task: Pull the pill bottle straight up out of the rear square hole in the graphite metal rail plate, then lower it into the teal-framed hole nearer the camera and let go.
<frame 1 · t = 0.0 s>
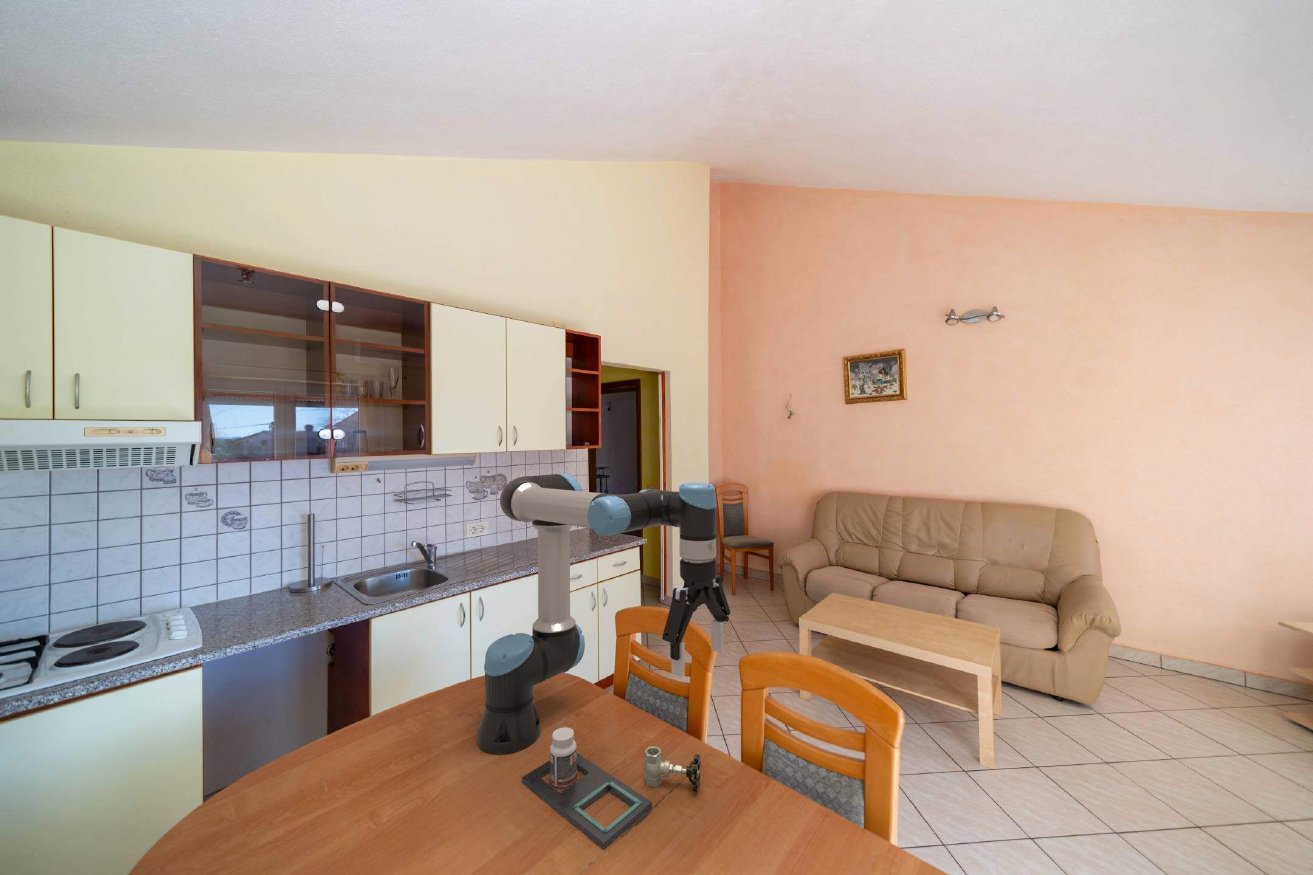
hand: (698, 662, 98), 28 cm above the table, tool pointing down, fingers open, 13 cm apart
valve: (671, 785, 102), on the table
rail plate: (584, 794, 99), on the table
pill bottle: (563, 780, 104), resting in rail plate
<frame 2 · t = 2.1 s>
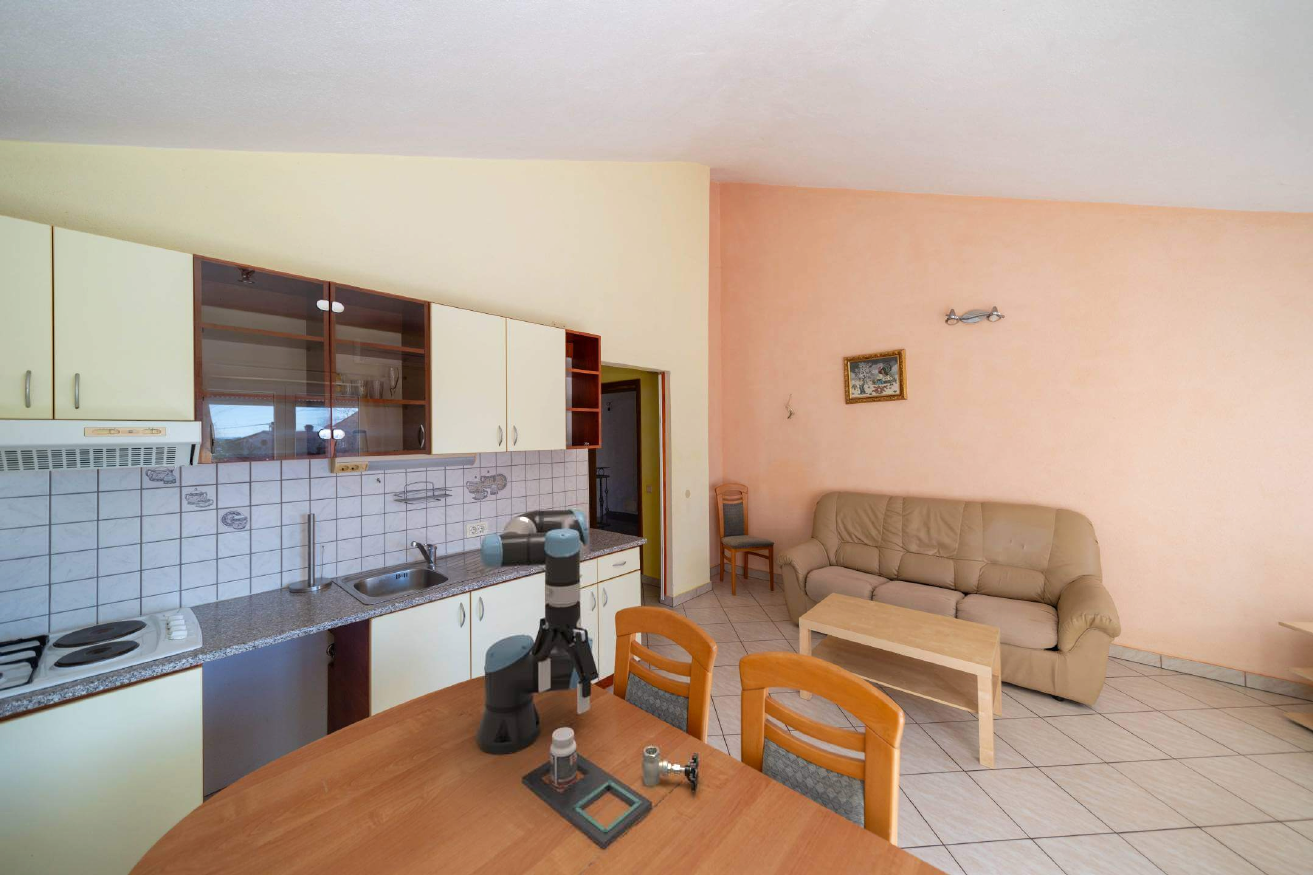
hand: (563, 699, 104), 17 cm above the table, tool pointing down, fingers open, 13 cm apart
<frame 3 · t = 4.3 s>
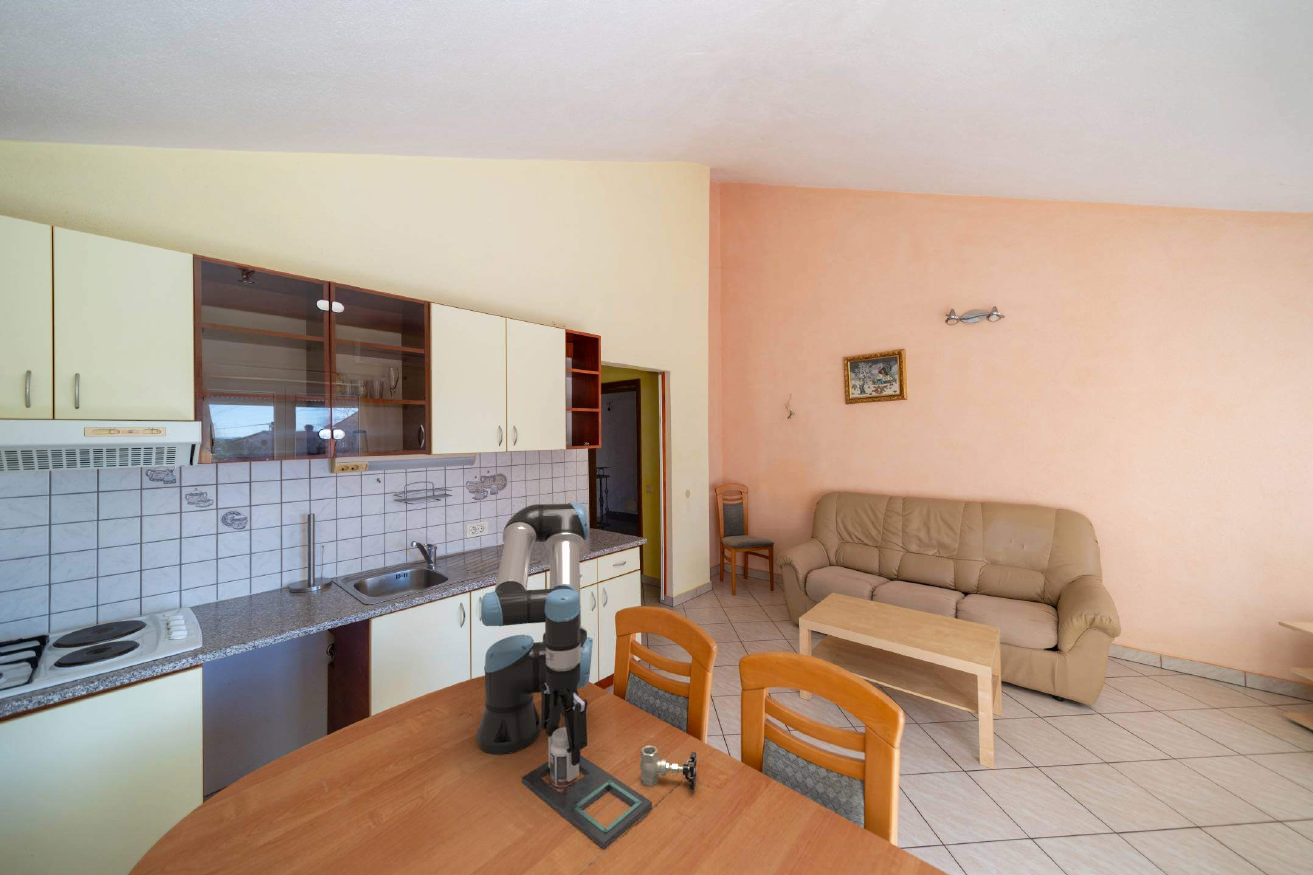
hand: (563, 770, 104), 2 cm above the table, tool pointing down, fingers closed on pill bottle, 6 cm apart
pill bottle: (563, 780, 104), resting in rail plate, touching gripper
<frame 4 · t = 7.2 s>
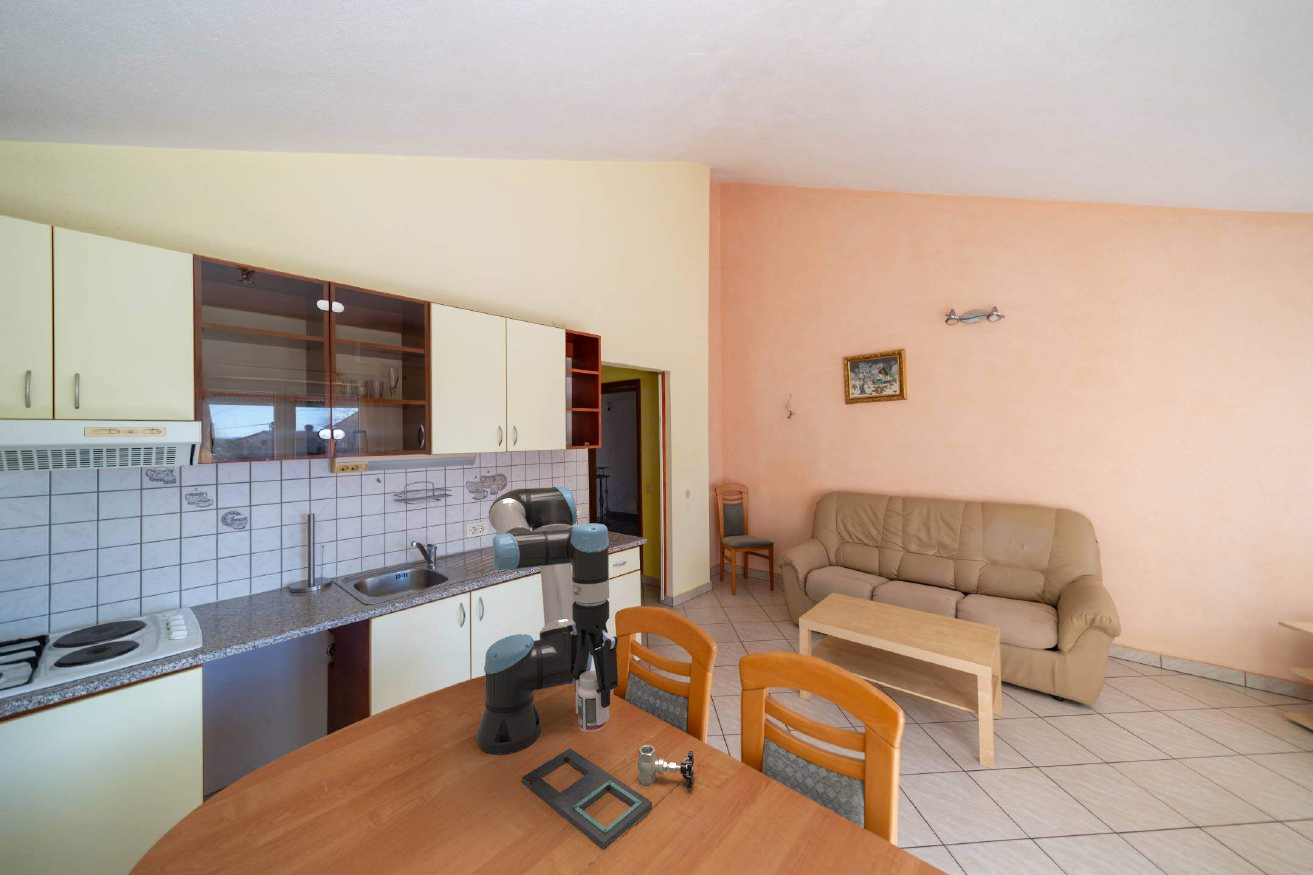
hand: (592, 715, 97), 18 cm above the table, tool pointing down, fingers closed on pill bottle, 6 cm apart
pill bottle: (592, 726, 97), point 16 cm above the table, touching gripper
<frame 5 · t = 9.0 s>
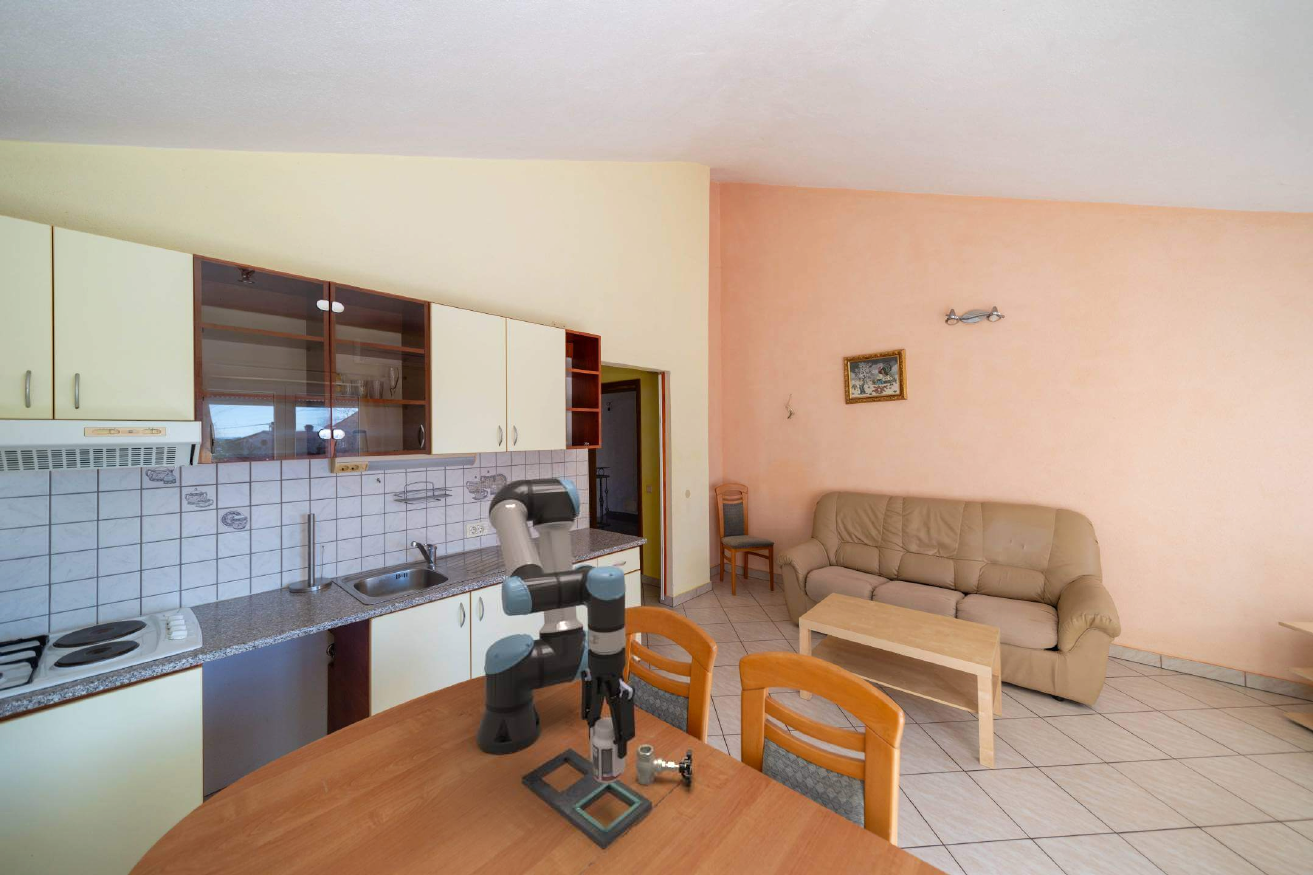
hand: (607, 764, 95), 9 cm above the table, tool pointing down, fingers closed on pill bottle, 6 cm apart
pill bottle: (607, 775, 94), point 7 cm above the table, touching gripper
when the fingers open (3 cm above the table, at t = 10.4 s): pill bottle drops 1 cm, resting in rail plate.
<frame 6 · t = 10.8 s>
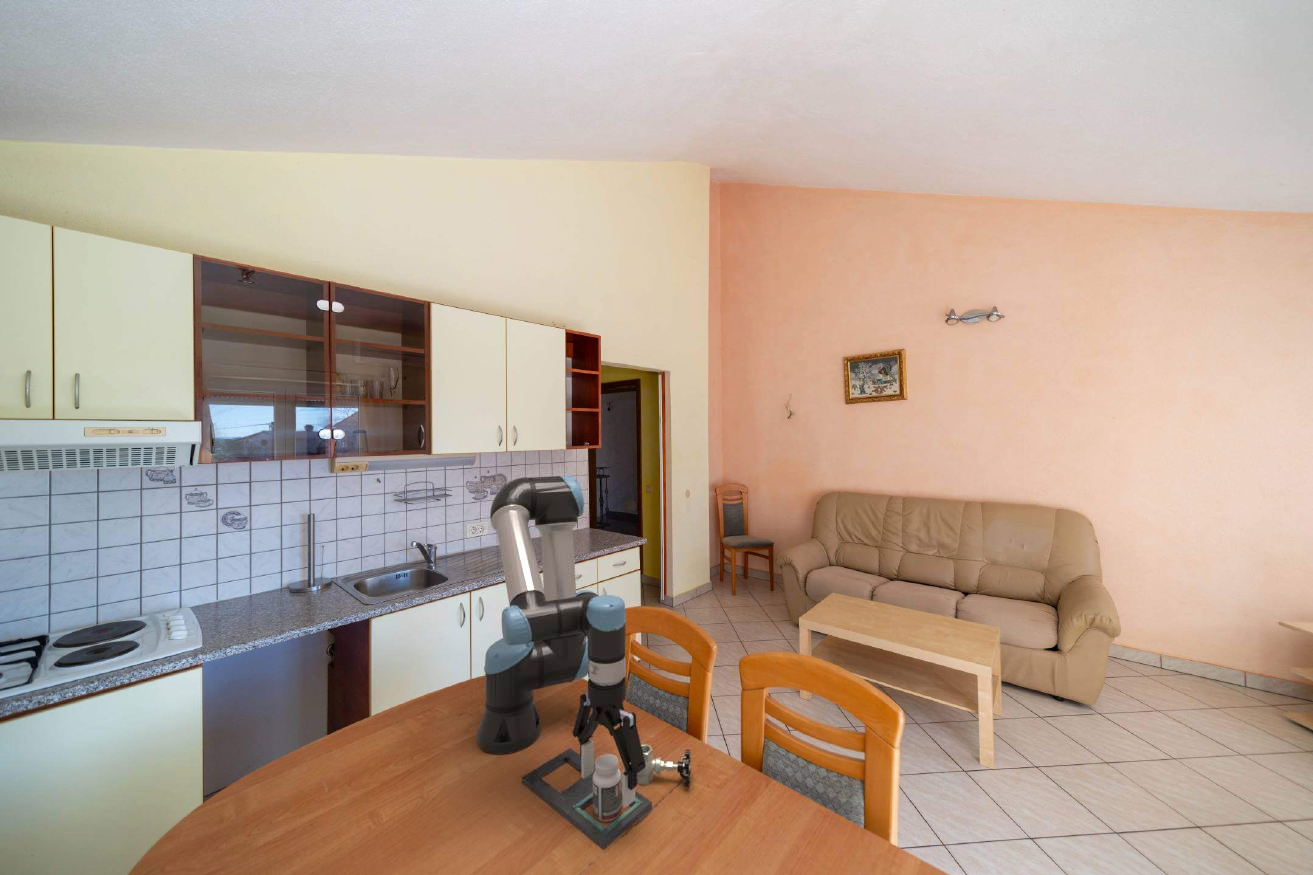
hand: (607, 788, 95), 5 cm above the table, tool pointing down, fingers open, 11 cm apart
pill bottle: (607, 812, 95), resting in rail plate
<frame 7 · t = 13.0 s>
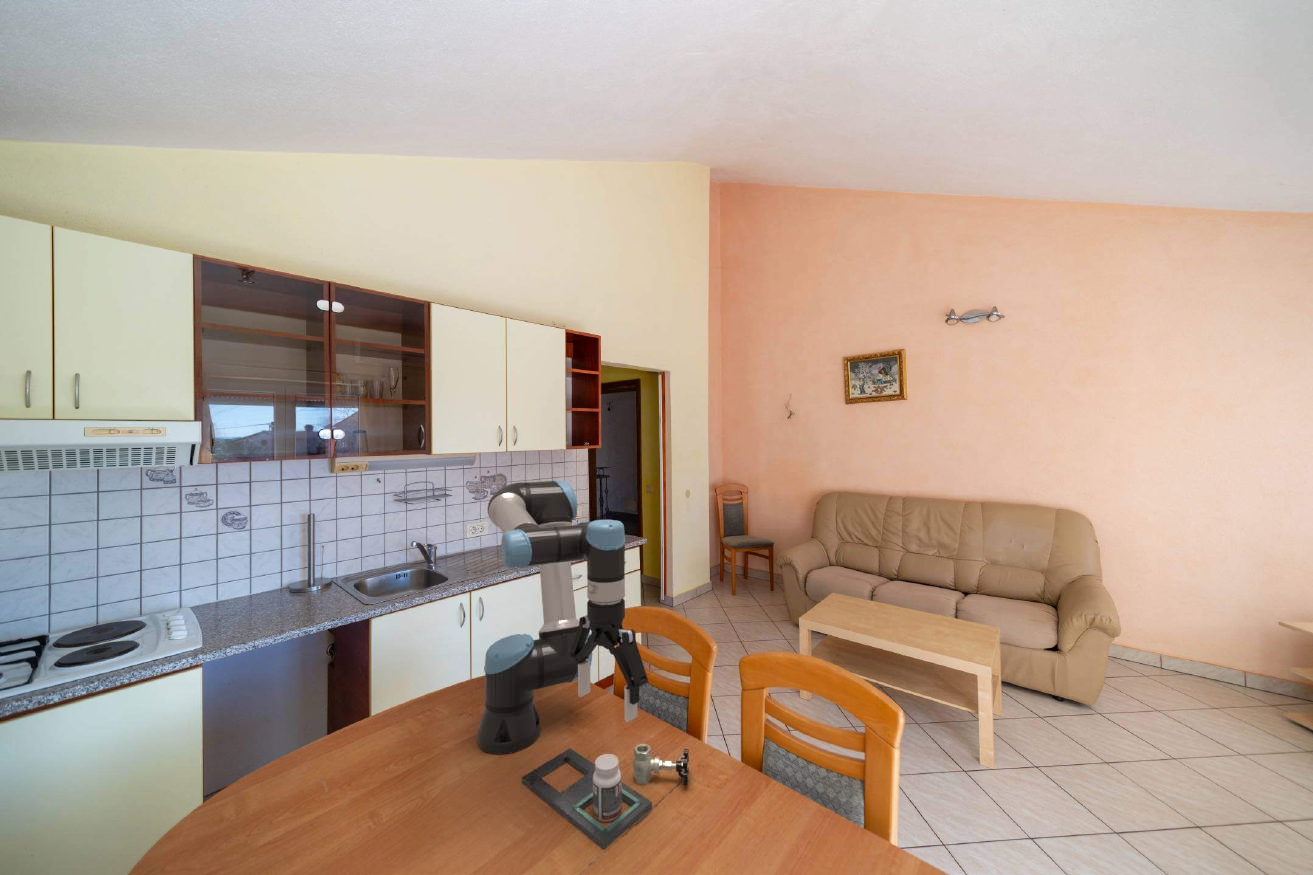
hand: (606, 705, 95), 21 cm above the table, tool pointing down, fingers open, 13 cm apart
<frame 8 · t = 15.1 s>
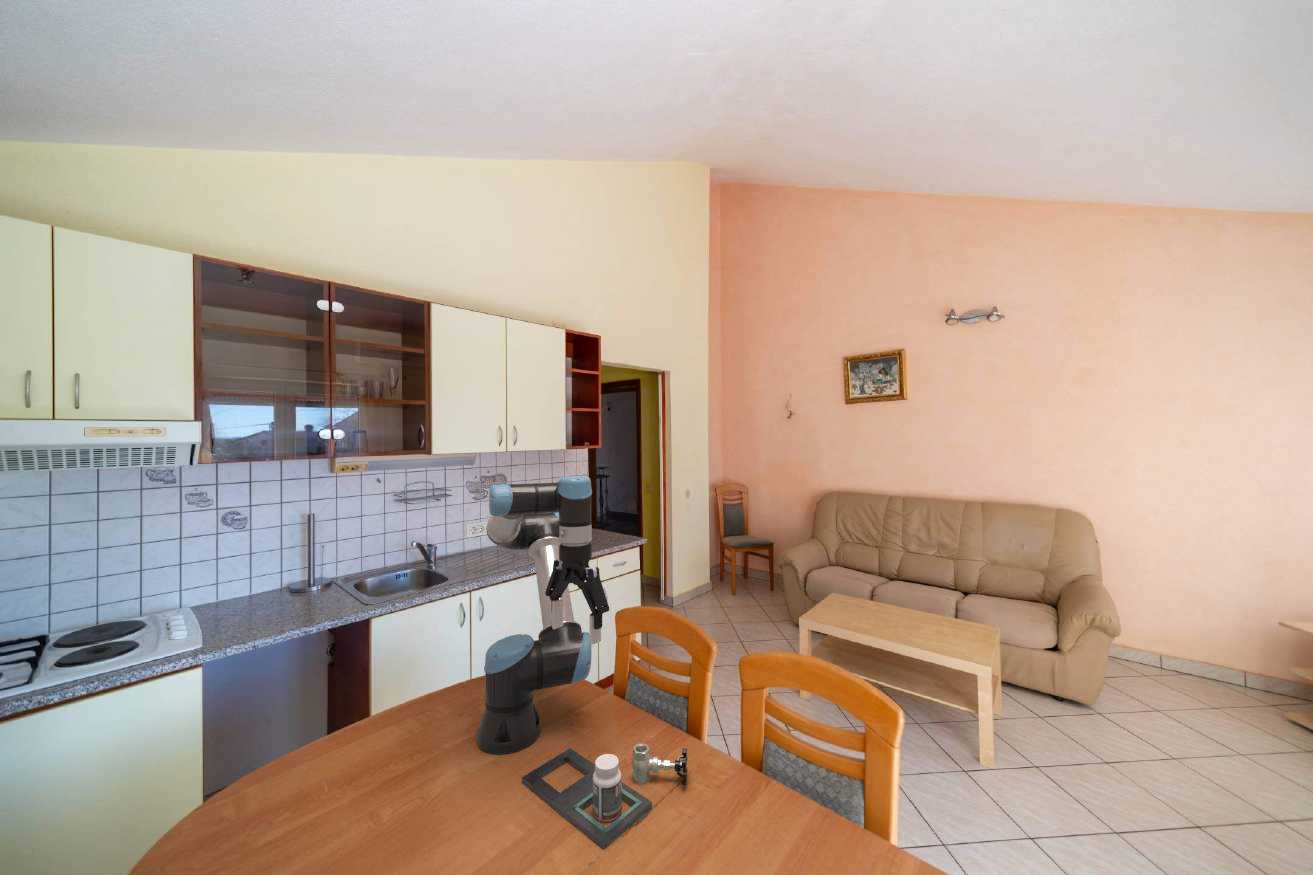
hand: (575, 634, 111), 29 cm above the table, tool pointing down, fingers open, 13 cm apart
at the end: pill bottle 0.0 cm from the target spot on the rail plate, point 0.0 cm above the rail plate's base; pill bottle tilted 0°; the gripper is holding nothing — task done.
